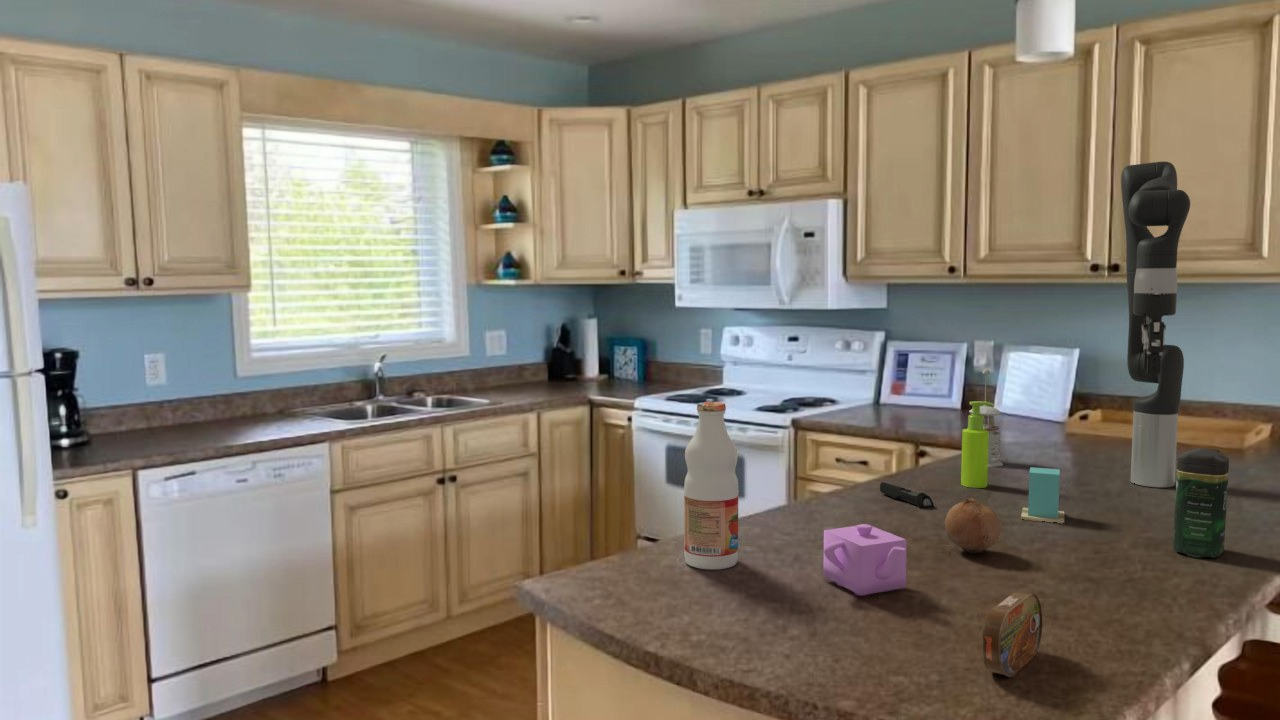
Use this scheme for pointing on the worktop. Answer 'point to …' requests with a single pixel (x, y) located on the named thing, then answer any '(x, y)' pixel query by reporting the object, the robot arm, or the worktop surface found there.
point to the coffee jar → (1201, 502)
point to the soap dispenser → (975, 449)
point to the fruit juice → (711, 493)
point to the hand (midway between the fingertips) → (1151, 371)
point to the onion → (972, 526)
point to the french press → (991, 431)
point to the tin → (1012, 633)
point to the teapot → (864, 559)
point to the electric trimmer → (907, 495)
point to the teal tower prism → (1043, 492)
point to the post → (1034, 518)
